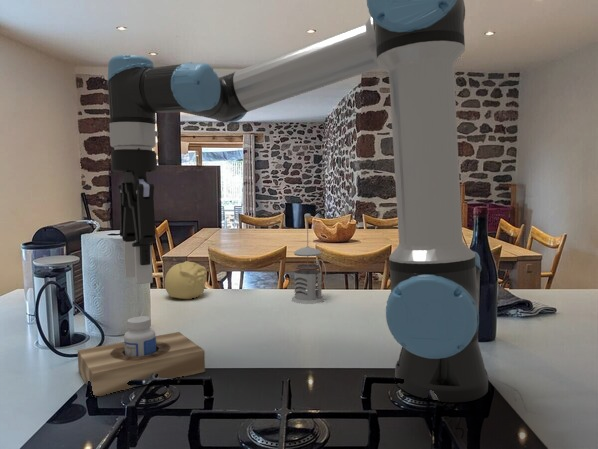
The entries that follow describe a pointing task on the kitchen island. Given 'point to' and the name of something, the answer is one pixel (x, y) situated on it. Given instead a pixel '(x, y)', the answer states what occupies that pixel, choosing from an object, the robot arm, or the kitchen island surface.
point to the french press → (308, 276)
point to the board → (139, 363)
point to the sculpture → (185, 280)
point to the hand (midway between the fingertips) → (138, 279)
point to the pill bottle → (139, 337)
